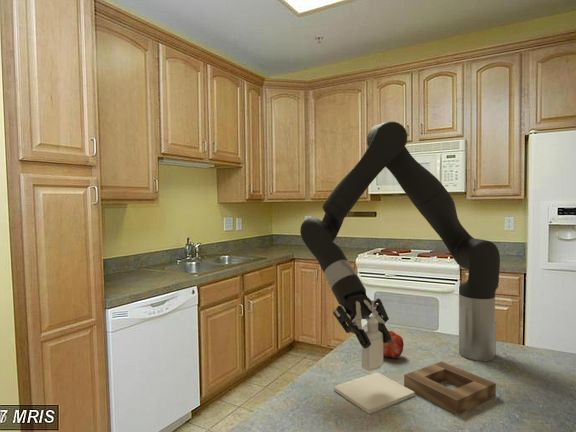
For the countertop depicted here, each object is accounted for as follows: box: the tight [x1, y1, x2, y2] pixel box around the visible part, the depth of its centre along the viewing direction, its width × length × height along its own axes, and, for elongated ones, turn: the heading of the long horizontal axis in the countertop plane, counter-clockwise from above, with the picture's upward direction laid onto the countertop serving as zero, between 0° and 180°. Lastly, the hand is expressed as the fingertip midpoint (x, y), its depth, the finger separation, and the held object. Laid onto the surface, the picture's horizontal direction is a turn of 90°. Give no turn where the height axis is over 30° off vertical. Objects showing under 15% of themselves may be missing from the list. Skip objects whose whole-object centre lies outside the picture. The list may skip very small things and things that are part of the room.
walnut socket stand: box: [403, 361, 497, 416], centre depth 88 cm, size 14×14×3 cm
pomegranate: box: [383, 330, 405, 359], centre depth 109 cm, size 7×7×10 cm
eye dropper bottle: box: [361, 314, 384, 372], centre depth 88 cm, size 4×6×12 cm
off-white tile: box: [332, 372, 416, 415], centre depth 88 cm, size 14×12×1 cm
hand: (378, 343), depth 86 cm, fingers closed on eye dropper bottle, 5 cm apart
